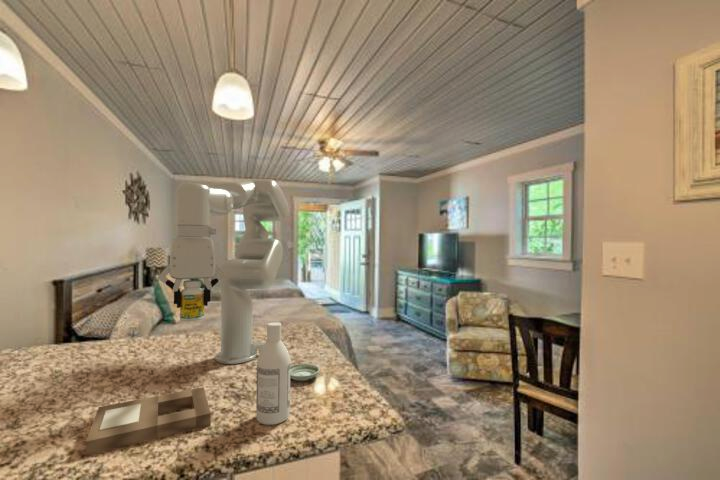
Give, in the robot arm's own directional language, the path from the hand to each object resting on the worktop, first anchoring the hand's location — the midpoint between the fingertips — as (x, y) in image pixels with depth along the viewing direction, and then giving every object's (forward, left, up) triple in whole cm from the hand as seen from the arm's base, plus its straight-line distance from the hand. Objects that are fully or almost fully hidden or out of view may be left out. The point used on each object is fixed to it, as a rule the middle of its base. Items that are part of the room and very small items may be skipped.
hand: (192, 305), depth 84 cm
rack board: (+8, +12, -21) cm, 26 cm away
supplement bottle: (0, 0, -4) cm, 4 cm away
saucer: (-27, +5, -22) cm, 35 cm away
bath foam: (-14, +22, -22) cm, 34 cm away
